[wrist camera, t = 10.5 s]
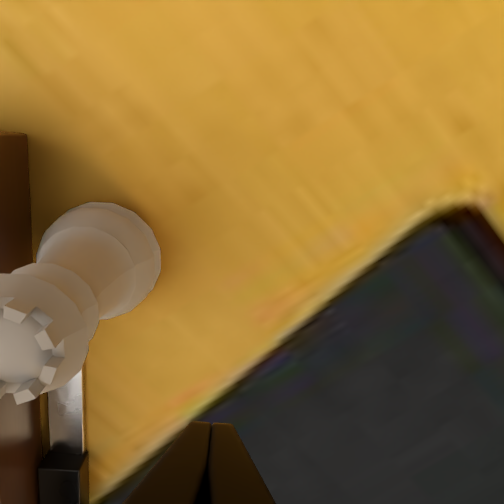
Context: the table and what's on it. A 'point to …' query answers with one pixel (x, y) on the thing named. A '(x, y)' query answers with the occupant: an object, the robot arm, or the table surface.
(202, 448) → the robot arm
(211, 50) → the table surface
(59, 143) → the table surface
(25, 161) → the walnut rail
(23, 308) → the rook chess piece
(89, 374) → the table surface
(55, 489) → the letter opener
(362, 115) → the table surface
